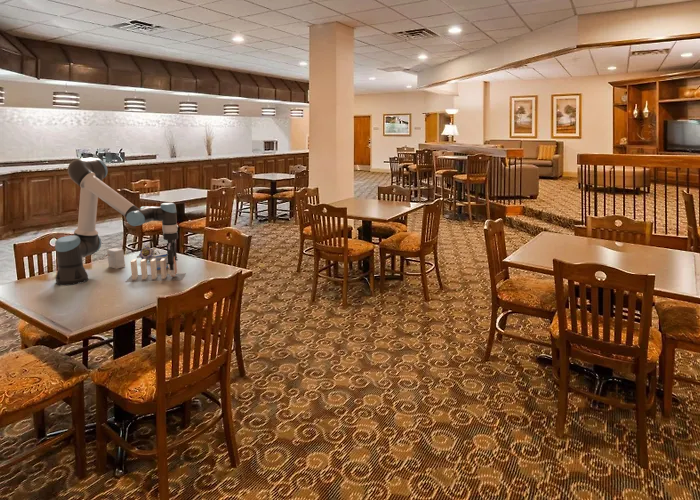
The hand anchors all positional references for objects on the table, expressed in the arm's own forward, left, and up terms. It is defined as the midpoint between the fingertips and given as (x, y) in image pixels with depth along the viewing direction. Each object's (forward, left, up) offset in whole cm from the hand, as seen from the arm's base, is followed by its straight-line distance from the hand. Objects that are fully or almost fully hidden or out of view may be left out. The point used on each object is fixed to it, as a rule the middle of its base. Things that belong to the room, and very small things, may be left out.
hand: (173, 273), depth 275 cm
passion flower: (-21, +39, -3) cm, 44 cm away
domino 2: (-15, 0, -2) cm, 15 cm away
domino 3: (-10, 0, -2) cm, 10 cm away
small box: (-37, +28, -3) cm, 46 cm away
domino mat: (-9, 0, -2) cm, 9 cm away
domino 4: (-5, 0, -2) cm, 5 cm away
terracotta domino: (0, 0, -1) cm, 1 cm away
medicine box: (-11, +20, -3) cm, 23 cm away
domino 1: (-20, 0, -2) cm, 20 cm away
